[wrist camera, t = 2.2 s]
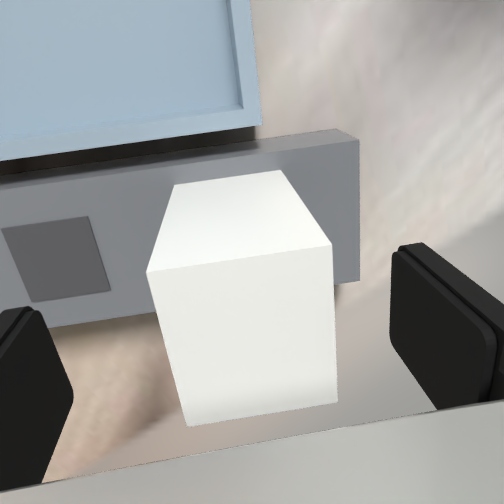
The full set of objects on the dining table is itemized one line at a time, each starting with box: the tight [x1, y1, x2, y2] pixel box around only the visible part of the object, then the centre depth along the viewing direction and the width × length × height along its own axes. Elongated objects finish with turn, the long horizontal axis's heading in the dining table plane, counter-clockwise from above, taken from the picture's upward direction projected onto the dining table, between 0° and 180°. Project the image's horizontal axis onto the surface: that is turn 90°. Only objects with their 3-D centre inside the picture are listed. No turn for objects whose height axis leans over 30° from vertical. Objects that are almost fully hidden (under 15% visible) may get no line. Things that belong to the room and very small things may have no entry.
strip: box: [0, 129, 360, 328], centre depth 17 cm, size 20×6×4 cm, turn 97°
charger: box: [146, 170, 338, 427], centre depth 14 cm, size 4×5×9 cm
